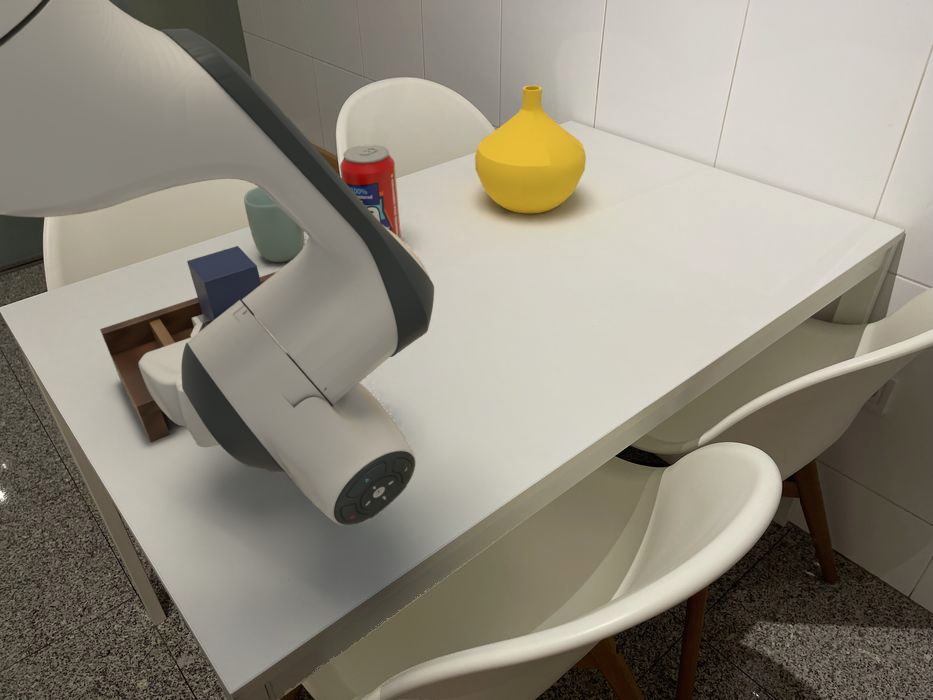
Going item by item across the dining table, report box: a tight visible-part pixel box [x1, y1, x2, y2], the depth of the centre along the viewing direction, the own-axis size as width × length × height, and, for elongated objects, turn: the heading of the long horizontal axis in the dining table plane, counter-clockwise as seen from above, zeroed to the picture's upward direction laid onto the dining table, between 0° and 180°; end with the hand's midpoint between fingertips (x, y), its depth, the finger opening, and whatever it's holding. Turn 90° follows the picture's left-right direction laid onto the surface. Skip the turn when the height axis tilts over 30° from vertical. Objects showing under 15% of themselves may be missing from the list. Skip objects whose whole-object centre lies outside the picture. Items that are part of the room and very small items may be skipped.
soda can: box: [339, 144, 402, 240], centre depth 104 cm, size 8×8×15 cm
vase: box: [474, 85, 587, 215], centre depth 115 cm, size 18×18×19 cm
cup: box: [243, 186, 305, 263], centre depth 104 cm, size 8×8×10 cm
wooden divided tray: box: [99, 271, 277, 442], centre depth 81 cm, size 22×12×8 cm, turn 125°
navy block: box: [186, 245, 261, 322], centre depth 69 cm, size 5×5×13 cm
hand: (231, 310), depth 69 cm, fingers closed on navy block, 5 cm apart
